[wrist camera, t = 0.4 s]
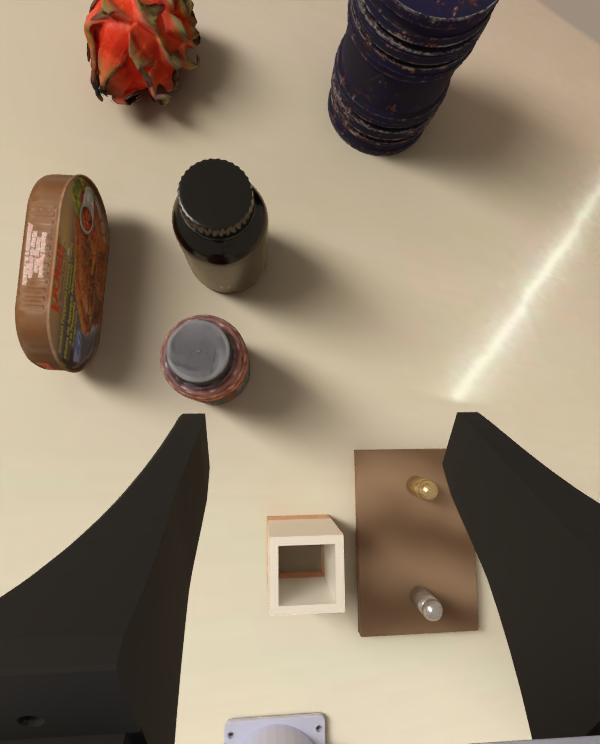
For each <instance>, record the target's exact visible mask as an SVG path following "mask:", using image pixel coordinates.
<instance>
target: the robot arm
mask: <svg viewBox="0 0 600 744" xmlns="http://www.w3.org/2000/svg"><path fill="white" fill-rule="evenodd" d="M442 465H443V469H444V473H445V477H446V480H447V484H448V487H449V490H450V493H451V496H452V499H453V501H454V503H455V506H456V508H457V510H458V513H459V515H460V517H461V519H462V522H463V524H464V526H465V528H466V531H467V533H468V535H469V537H470V540H471V542H472V544H473V546H474V549H475V551H476V553H477V555H478V557H479V560H480V562H481V564H482V567H483V569H484V572H485V574H486V577H487V579H488V582H489V585H490V588H491V591H492V594H493V597H494V600H495V603H496V606H497V609H498V612H499V616H500V619H501V622H502V626H503V629H504V632H505V636H506V639H507V642H508V646H509V649H510V652H511V656H512V660H513V664H514V667H515V671H516V675H517V678H518V682H519V686H520V690H521V694H522V698H523V702H524V706H525V710H526V715H527V719H528V723H529V727H530V731H531V736H532V740H519V741H503V742H488V743H472V744H600V503H598V502H596V501H595V500H593V499H592V498H590V497H588V496H587V495H585V494H584V493H582V492H581V491H579V490H578V489H576V488H575V487H573V486H572V485H571V484H569V483H568V482H566V481H565V480H564V479H562V478H561V477H559V476H558V475H557V474H555V473H554V472H552V471H551V470H550V469H549V468H547V467H546V466H545V465H543V464H542V463H541V462H539V461H538V460H537V459H535V458H534V457H533V456H532V455H530V454H529V453H528V452H527V451H525V450H524V449H523V448H522V447H520V446H519V445H518V444H517V443H516V442H514V441H513V440H512V439H511V438H509V437H508V436H507V435H506V434H505V433H503V432H502V431H501V430H500V429H499V428H497V427H496V426H495V425H494V424H492V423H491V422H490V421H489V420H487V419H486V418H485V417H484V416H482V415H481V414H480V413H478V412H457V415H456V419H455V422H454V425H453V429H452V432H451V436H450V439H449V442H448V446H447V449H446V452H445V456H444V459H443V462H442ZM209 469H210V465H209V454H208V442H207V430H206V419H205V414H182V415H181V416H180V417H179V418H178V420H177V421H176V423H175V425H174V426H173V428H172V430H171V431H170V433H169V434H168V436H167V437H166V439H165V440H164V442H163V443H162V445H161V446H160V448H159V449H158V450H157V452H156V453H155V454H154V456H153V457H152V458H151V460H150V461H149V462H148V464H147V465H146V466H145V468H144V469H143V470H142V472H141V473H140V474H139V475H138V476H137V478H136V479H135V480H134V481H133V482H132V484H131V485H130V486H129V487H128V488H127V490H126V491H125V492H124V493H123V494H122V495H121V496H120V497H119V499H118V500H117V501H116V502H115V503H114V504H113V505H112V506H111V507H110V508H109V509H108V510H107V511H106V512H105V513H104V514H103V515H102V516H101V517H100V518H99V519H98V520H97V521H96V522H95V523H94V524H93V525H92V526H91V527H90V528H89V529H87V530H86V531H85V532H84V533H83V534H82V535H81V536H80V537H79V538H78V539H77V540H75V541H74V542H73V543H72V544H71V545H70V546H68V547H67V548H66V549H65V550H64V551H62V552H61V553H60V554H59V555H57V556H56V557H55V558H54V559H52V560H51V561H50V562H49V563H47V564H46V565H45V566H43V567H42V568H41V569H40V570H38V571H37V572H36V573H35V574H33V575H32V576H31V577H29V578H28V579H27V580H25V581H24V582H22V583H21V584H20V585H18V586H17V587H15V588H14V589H12V590H11V591H9V592H8V593H6V594H5V595H3V596H2V597H0V744H174V743H175V731H176V718H177V706H178V695H179V684H180V673H181V662H182V652H183V642H184V632H185V622H186V613H187V604H188V595H189V587H190V581H191V575H192V570H193V565H194V560H195V555H196V551H197V546H198V541H199V536H200V531H201V526H202V521H203V517H204V512H205V507H206V502H207V492H208V481H209ZM319 725H320V726H321V728H320V729H316V727H317V726H319ZM229 732H233V733H234V734H233V735H232V736H230V735H229V734H228V733H229ZM225 744H325V719H324V716H323V714H321V713H309V714H295V715H281V716H267V717H253V718H239V719H230V720H228V721H227V722H226V723H225Z"/></svg>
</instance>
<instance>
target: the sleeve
mask: <svg viewBox="0 0 600 744" xmlns="http://www.w3.org/2000/svg"><path fill="white" fill-rule="evenodd" d="M318 544H322V571H306V572H282V573H278V546H290V545H318ZM267 584H268V598H269V612H270V616H279V615H299V614H319V613H338V612H345V586H344V535H343V533H342V532H341V531H340V530H339V528H338V527H337V526H336V524H335V523H334V522H333V520H332V519H331V518H330V516H329V515H298V516H267Z"/></svg>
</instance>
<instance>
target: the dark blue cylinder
mask: <svg viewBox="0 0 600 744" xmlns="http://www.w3.org/2000/svg"><path fill="white" fill-rule="evenodd" d="M498 1H499V0H348V26H347V30H346V33H345V35H344V37H343V38H342V40H341V43H340V45H339V47H338V50H337V53H336V57H335V64H334V68H333V73H332V79H331V88H330V92H329V98H328V111H329V117H330V119H331V122H332V125H333V127H334V128H335V130H336V132H337V133H338V134H339V136H340V137H341V138H342V139H343V140H344V141H345V142H346V143H347V144H349V145H350V146H351V147H353V148H355V149H356V150H358V151H360V152H363V153H366V154H370V155H375V156H388V155H394V154H397V153H400V152H402V151H404V150H406V149H408V148H409V147H411V146H412V145H413V144H414V143H415V142H416V141H417V140H418V138H419V137H420V136H421V134H422V132H423V130H424V129H425V127H426V125H427V124H428V123H429V122H430V121H431V119H432V118H433V116H434V114H435V113H436V111H437V109H438V107H439V106H440V104H441V103H442V101H443V100H444V98H445V96H446V93H447V90H448V87H449V84H450V78H451V77H452V75H453V73H454V71H455V70H456V69H457V68H458V67H459V66H460V65H461V64H462V63H463V61H464V60H465V59H466V58H467V57H468V56H469V54H470V53H471V52H472V50H473V48H474V46H475V44H476V42H477V40H478V39H479V37H480V35H481V34H482V32H483V30H484V29H485V27H486V25H487V23H488V21H489V19H490V16H491V13H492V12H493V10H494V8H495V6H496V4H497V3H498Z"/></svg>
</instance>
